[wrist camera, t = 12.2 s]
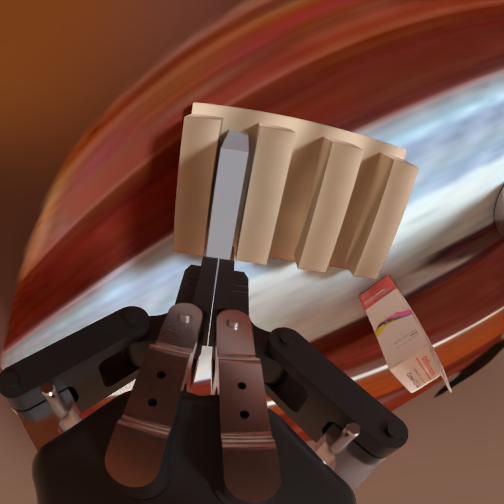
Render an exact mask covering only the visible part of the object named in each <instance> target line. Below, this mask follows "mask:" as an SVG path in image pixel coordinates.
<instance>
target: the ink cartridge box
mask: <svg viewBox="0 0 504 504" xmlns="http://www.w3.org/2000/svg"><path fill="white" fill-rule="evenodd" d="M359 298H360V300H361V303H362V305H363V307H364V309H365V312H366V314H367V316H368V318H369V320H370V323H371V325H372V327H373V330H374V332H375V334H376V337H377V339H378V342H379V344H380V346H381V349H382V352H383V354H384V357H385V359H386V362H387V365H388V368H389V370H390V371H391V372H392V373H393V375H394V376H395V377H396V378H397V379H398V380H399V381H400V382H401V383H402V384H403V385H404V386H405V387H406V388H407V389H408V390H409V391H410V392H411V393H413V392H415V391H417V390H418V389H420V388H422V387H423V386H425V385H426V384H428V383H429V382H431V381H432V380H434V379H435V378H437V377H438V376H440V375H441V376H442V378H443V380H444V381H445V383H446V385H447V387H448V389H449V391H450V393H451V392H452V391H451V388H450V385H449V382H448V380H447V377H446V374H445V371H444V369H443V367H442V365H441V362H440V360H439V358H438V356H437V354H436V352H435V350H434V348H433V346H432V344H431V342H430V340H429V339H428V337H427V335H426V333H425V331H424V330H423V328H422V326H421V324H420V322H419V321H418V319H417V317H416V316H415V314H414V312H413V311H412V309H411V308H410V306H409V304H408V303H407V301H406V300H405V298H404V297H403V295H402V294H401V292H400V291H399V289H398V288H397V287H396V285H395V284H394V282H393V281H392V279H391V278H390V276H389V275H387V276H386V277H384V278H383V279H382V280H380V281H379V282H377V283H376V284H375V285H373V286H372V287H370V288H369V289H368V290H366V291H365V292H363V293H362V294H360V295H359Z"/></svg>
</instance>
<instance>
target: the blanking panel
mask: <svg viewBox="0 0 504 504" xmlns="http://www.w3.org/2000/svg"><path fill="white" fill-rule="evenodd" d="M248 154H249V143H248V132H243V131H236V130H229V132H228V134H227V136H226V138H225V140H224V142H223V145H222V147H221V151H220V157H219V163H218V170H217V177H216V184H215V191H214V198H213V205H212V213H211V221H210V229H209V237H208V245H207V253H206V257H213V258H218V264H217V271H216V279H215V287H214V290H215V288H216V280H217V273H218V266H219V259H220V258H221V259H228V260H230V256H231V250H232V244H233V239H234V233H235V227H236V221H237V215H238V209H239V204H240V198H241V192H242V187H243V181H244V176H245V170H246V165H247V159H248Z"/></svg>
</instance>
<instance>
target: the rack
mask: <svg viewBox="0 0 504 504" xmlns="http://www.w3.org/2000/svg"><path fill="white" fill-rule="evenodd" d="M229 130H236V131H243V132H248V143H249V154H248V159H247V165H246V170H245V176H244V181H243V187H242V192H241V198H240V204H239V209H238V215H237V221H236V227H235V233H234V239H233V244H232V250H231V256H230V260H233V259H234V253H236V261H244V262H251V263H258V264H265V265H266V264H267V260H268V258H276V259H283V260H290V261H296V264H297V268H298V269H302V270H310V271H317V272H325V273H326V270H327V267H328V266H333V267H340V268H347V269H350V271H351V273H352V275H353V276H356V277H364V278H372V279H377V277H378V275H379V273H380V271H381V268H382V266H383V264H384V261H385V259H386V257H387V254H388V252H389V250H390V247H391V245H392V242H393V240H394V237H395V235H396V232H397V230H398V227H399V225H400V222H401V219H402V217H403V214H404V211H405V209H406V206H407V203H408V200H409V197H410V194H411V191H412V188H413V185H414V182H415V179H416V176H417V173H418V170H419V168H418V167H416V166H414V165H413V164H411V163H409V162H407V161H405V160H404V158H405V154H406V151H407V150H405V149H403V148H400V147H397V146H394V145H391V144H388V143H385V142H382V141H379V140H376V139H373V138H370V137H367V136H363V135H360V134H357V133H353V132H350V131H346V130H342V129H339V128H335V127H331V126H327V125H323V124H319V123H315V122H311V121H307V120H302V119H298V118H293V117H288V116H283V115H278V114H273V113H268V112H262V111H256V110H250V109H244V108H237V107H230V106H223V105H215V104H206V103H196V102H194V103H193V107H192V114H190V115H187V116H185V117H184V124H183V132H182V140H181V149H180V159H179V169H178V180H177V192H176V205H175V220H174V238H173V252H180V253H187V254H194V255H201V256H203V254H204V250H205V249H207V245H208V237H209V229H210V221H211V213H212V205H213V198H214V191H215V184H216V177H217V170H218V163H219V157H220V151H221V147H222V145H223V142H224V140H225V138H226V136H227V134H228V132H229ZM206 253H207V252H206Z"/></svg>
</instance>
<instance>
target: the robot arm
mask: <svg viewBox="0 0 504 504" xmlns="http://www.w3.org/2000/svg"><path fill="white" fill-rule="evenodd" d="M494 220H495V226H496V229H497V231H498V232H499V233H500V234H501V235H502V236H503V237H504V187H503V189H502V190H501V192H500V195H499V197H498V200H497V203H496V207H495V215H494ZM217 264H218V258H213V257H206V256H203V260H202V264H201V266H196V265H190V266H189V267H188V268H187V269H186V270H185V272H184V275H183V279H182V282H181V285H180V289H179V292H178V296H177V299H176V303H175V305H174V306H172V307H171V308H170V309H169V311H168V313H166V314H163V315H158V316H148V314H147V312H146V311H145V310H143V309H142V308H139V307H135V306H129V307H124V308H122V309H120V310H118V311H116V312H114V313H112V314H110V315H108V316H106V317H104V318H102V319H100V320H98V321H96V322H94V323H92V324H90V325H89V326H87V327H85V328H83V329H81V330H79V331H77V332H75V333H73V334H71V335H69V336H67V337H65V338H63V339H61V340H59V341H57V342H55V343H53V344H51V345H49V346H48V347H46V348H44V349H42V350H40V351H38V352H36V353H34V354H32V355H30V356H28V357H26V358H24V359H22V360H20V361H18V362H17V363H15V364H13V365H11V366H9V367H7V368H5V369H4V370H3V371H2V372H1V373H0V393H1V394H2V395H3V397H4V398H5V399H6V401H7V402H8V404H9V406H10V407H11V408H12V409H13V410H14V412H15V413H16V414H17V415H18V416H19V418H20V420H21V422H22V424H23V426H24V428H25V430H26V432H27V434H28V435H29V437H30V439H31V441H32V443H33V444H34V446H35V448H36V450H37V451H38V452H37V453H36V455H35V457H34V459H33V463H32V477H33V482H34V486H35V490H36V494H37V504H356V498H355V495H354V493H353V491H354V490H355V489H356V488H357V487H358V486H359V485H360V484H361V483H362V482H363V481H364V479H365V478H366V477H367V476H368V475H369V474H370V473H371V472H372V471H373V469H374V468H375V467H376V466H377V465H378V463H380V462H381V461H383V460H384V459H385V458H387V457H388V456H389V455H391V454H392V453H394V452H395V451H396V450H398V449H399V448H400V447H402V446H403V445H404V444H405V443H406V441H407V438H408V429H407V427H406V425H405V424H404V422H403V421H402V420H400V419H399V418H398V417H397V416H396V415H394V414H393V413H392V412H391V411H389V410H388V409H387V408H386V407H385V406H383V405H382V404H381V403H380V402H378V401H377V400H376V399H375V398H374V397H372V396H371V395H370V394H369V393H368V392H366V391H365V390H364V389H363V388H362V387H360V386H359V385H358V384H357V383H356V382H355V381H353V380H352V379H351V378H350V377H349V376H347V375H346V374H345V373H344V372H343V371H342V370H340V369H339V368H338V367H337V366H336V365H335V364H333V363H332V362H331V361H330V360H329V359H328V358H326V357H325V356H324V355H323V354H322V353H321V352H319V351H318V350H317V349H316V348H315V347H314V346H312V345H311V344H310V343H309V342H308V341H307V340H306V339H304V338H303V337H302V336H301V335H300V334H299V333H297V332H296V331H294V330H292V329H289V328H283V327H282V328H277V329H274V330H273V331H272V332H271V333H270V332H267V331H265V330H262V329H260V328H258V327H256V326H255V325H254V324H253V323H252V322H251V320H250V318H249V299H248V278H247V276H246V275H245V273H244V272H239V271H234V260H228V259H221V258H220V259H219V266H218V273H217V280H216V288H215V295H214V287H215V279H216V271H217ZM213 295H214V302H213ZM212 302H213V310H212V319H211V327H210V336H209V345H208V346H212V347H213V350H212V359H211V395H208V396H199V395H196V394H193V393H191V392H192V387H193V383H194V379H195V374H196V370H197V366H198V362H199V356H200V354H201V349H202V345H203V346H207V340H208V332H209V324H210V317H211V309H212ZM134 379H136V381H135V383H134V386H133V388H132V390H131V391H128V392H125V393H123V394H121V395H119V396H117V397H116V398H114V399H113V400H111V401H110V402H108V403H107V404H105V405H104V406H102V407H101V408H99V409H98V410H97V411H95V412H94V413H92V414H91V415H89V416H88V417H86V418H85V419H83V420H82V421H80V420H81V412H83V411H85V410H86V409H88V408H90V407H91V406H93V405H95V404H96V403H98V402H99V401H101V400H103V399H104V398H106V397H108V396H109V395H111V394H112V393H114V392H115V391H117V390H119V389H120V388H122V387H123V386H125V385H127V384H128V383H130V382H131V381H133V380H134ZM265 393H266V394H267V395H268V396H269V397H270V398H271V399H272V400H273V401H274V402H275V403H276V404H277V405H278V406H279V407H280V408H281V409H282V410H283V411H284V412H285V413H286V414H287V415H288V416H289V417H290V418H291V419H292V420H293V421H294V422H295V423H296V424H297V425H298V426H299V427H300V428H301V429H302V430H303V431H304V432H305V433H306V434H307V435H308V436H309V437H310V438H312V439H313V440H314V441H315V442H316V446H315V451H316V453H315V452H314V451H313V450H312V449H311V448H310V447H309V446H308V445H307V444H306V443H305V442H304V441H303V440H302V439H301V438H300V437H299V436H298V435H297V434H296V433H295V432H294V430H293V429H292V428H291V427H290V426H289V425H288V424H287V423H286V422H285V421H284V420H283V419H282V418H281V417H280V416H279V415H278V414H276V413H275V412H274V411H272V410H271V409H269V408H267V401H266V394H265Z"/></svg>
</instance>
